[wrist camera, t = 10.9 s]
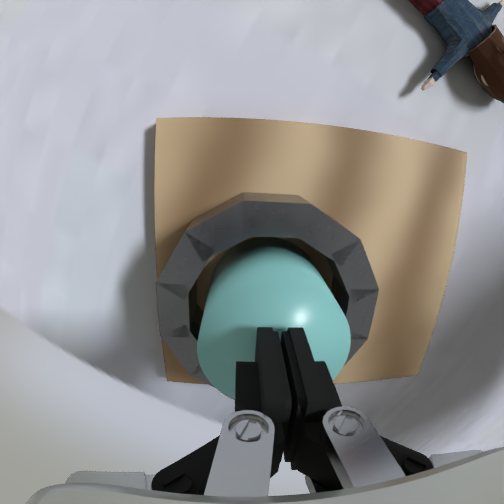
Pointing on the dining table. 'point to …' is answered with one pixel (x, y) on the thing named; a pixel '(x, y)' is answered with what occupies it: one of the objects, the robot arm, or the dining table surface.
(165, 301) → the faceted gray ring
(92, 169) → the dining table surface
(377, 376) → the board
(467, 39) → the toy
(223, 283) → the teal rounded tetrahedron
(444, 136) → the dining table surface
